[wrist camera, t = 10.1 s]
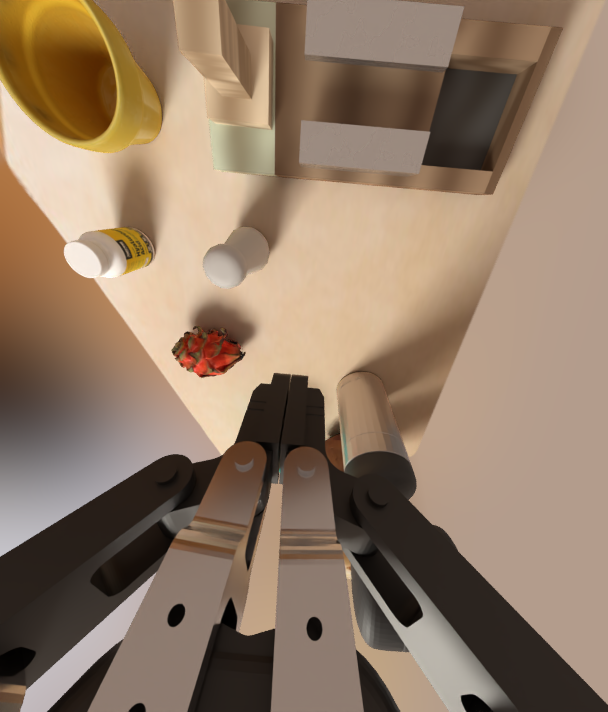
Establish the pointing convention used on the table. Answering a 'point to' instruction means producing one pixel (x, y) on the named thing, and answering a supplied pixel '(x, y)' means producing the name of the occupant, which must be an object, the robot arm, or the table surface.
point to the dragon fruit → (207, 352)
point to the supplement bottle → (109, 252)
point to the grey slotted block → (380, 49)
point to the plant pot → (76, 75)
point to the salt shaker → (236, 257)
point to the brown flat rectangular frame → (394, 103)
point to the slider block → (228, 62)
